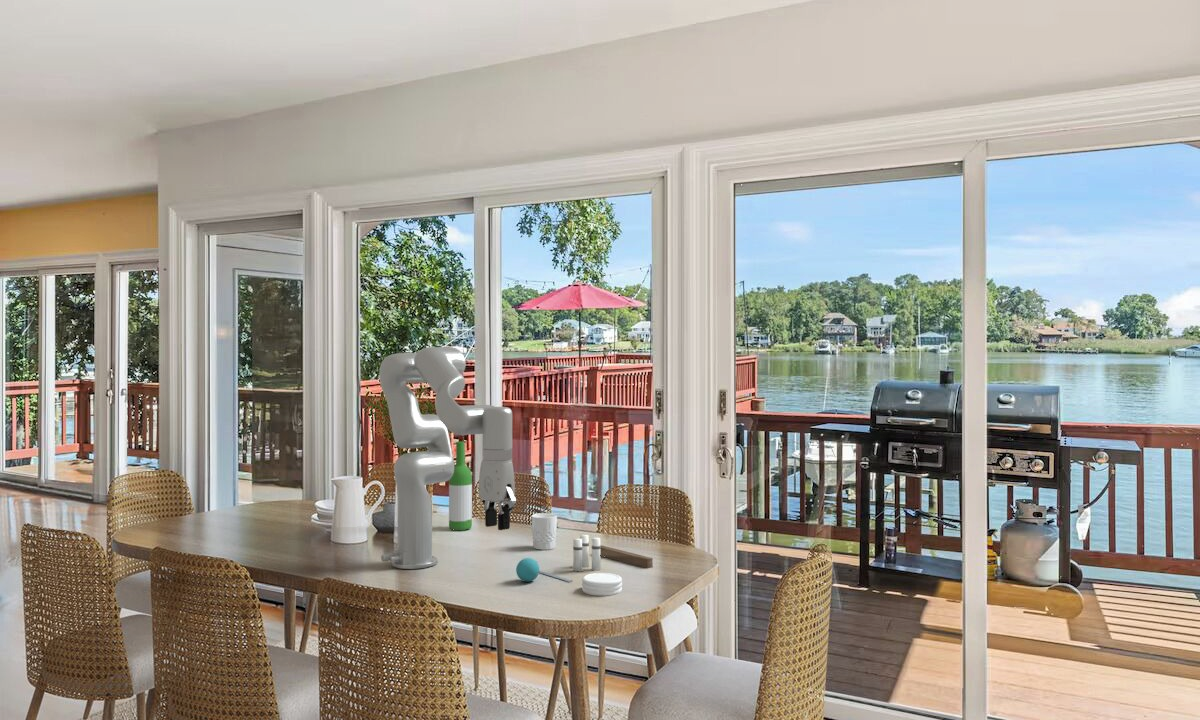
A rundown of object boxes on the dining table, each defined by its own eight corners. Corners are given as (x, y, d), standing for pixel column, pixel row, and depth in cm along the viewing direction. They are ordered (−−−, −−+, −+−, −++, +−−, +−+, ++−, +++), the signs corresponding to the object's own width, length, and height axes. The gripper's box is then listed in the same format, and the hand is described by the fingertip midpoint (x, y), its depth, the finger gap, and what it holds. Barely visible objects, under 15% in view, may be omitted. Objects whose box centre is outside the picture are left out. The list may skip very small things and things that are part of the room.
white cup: (543, 544, 255) (543, 512, 255) (562, 547, 250) (562, 515, 250) (526, 548, 249) (526, 515, 249) (544, 552, 244) (544, 518, 244)
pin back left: (583, 567, 225) (583, 537, 225) (578, 565, 227) (578, 535, 227) (590, 566, 227) (590, 535, 227) (584, 564, 229) (584, 534, 229)
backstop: (647, 568, 225) (647, 559, 225) (595, 554, 241) (595, 546, 241) (652, 567, 226) (652, 558, 226) (600, 553, 242) (600, 545, 242)
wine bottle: (476, 528, 280) (476, 441, 280) (461, 532, 273) (461, 443, 274) (459, 526, 284) (459, 440, 284) (444, 529, 277) (444, 442, 278)
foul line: (569, 582, 210) (569, 581, 210) (532, 570, 222) (532, 570, 222) (572, 581, 211) (572, 580, 211) (535, 570, 223) (535, 569, 223)
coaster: (574, 592, 201) (574, 578, 201) (596, 583, 210) (596, 570, 210) (607, 599, 196) (607, 584, 196) (629, 589, 204) (629, 575, 204)
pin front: (577, 572, 220) (577, 540, 221) (571, 570, 222) (571, 539, 222) (584, 570, 222) (584, 539, 222) (578, 568, 224) (578, 538, 224)
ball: (525, 585, 207) (525, 562, 207) (511, 581, 211) (511, 558, 211) (543, 581, 211) (543, 558, 211) (530, 577, 215) (530, 554, 215)
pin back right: (595, 571, 222) (595, 539, 222) (589, 569, 223) (589, 538, 224) (602, 569, 223) (602, 538, 223) (596, 567, 225) (596, 537, 225)
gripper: (466, 454, 209) (466, 524, 209) (504, 459, 196) (504, 535, 196) (491, 452, 214) (491, 521, 214) (529, 457, 201) (529, 530, 201)
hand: (497, 526), depth 205 cm, fingers open, 4 cm apart
